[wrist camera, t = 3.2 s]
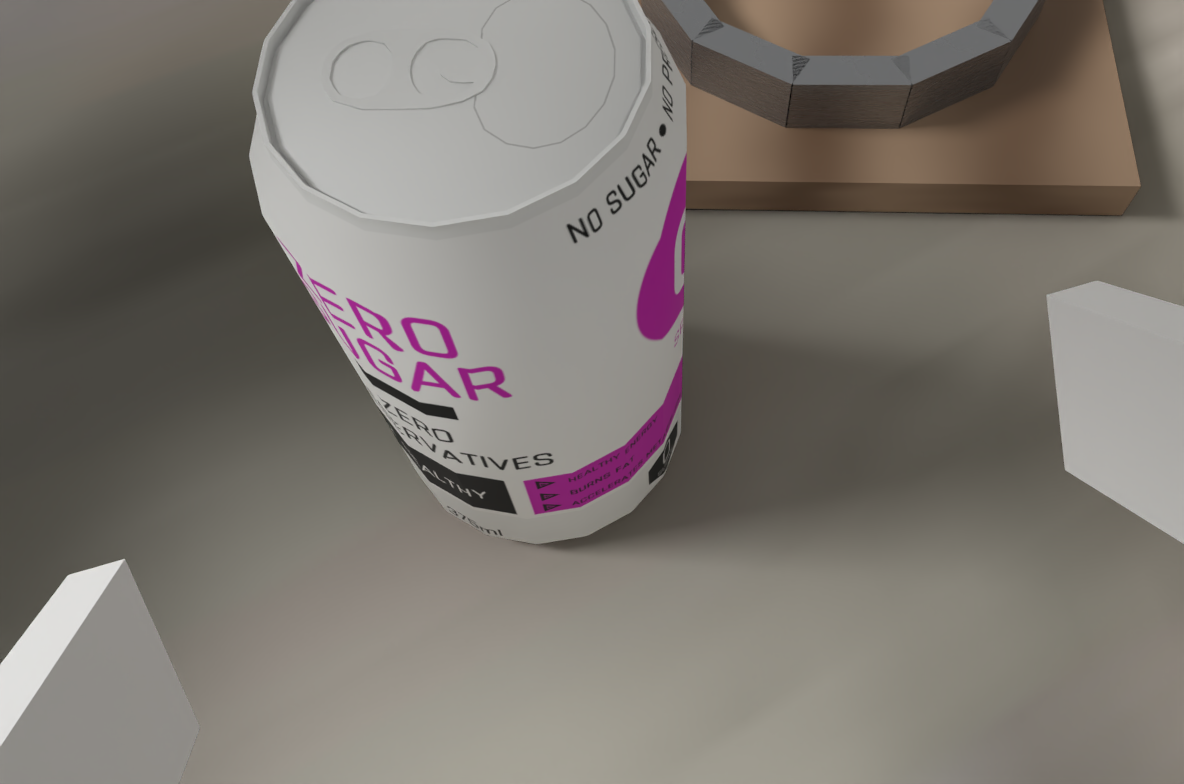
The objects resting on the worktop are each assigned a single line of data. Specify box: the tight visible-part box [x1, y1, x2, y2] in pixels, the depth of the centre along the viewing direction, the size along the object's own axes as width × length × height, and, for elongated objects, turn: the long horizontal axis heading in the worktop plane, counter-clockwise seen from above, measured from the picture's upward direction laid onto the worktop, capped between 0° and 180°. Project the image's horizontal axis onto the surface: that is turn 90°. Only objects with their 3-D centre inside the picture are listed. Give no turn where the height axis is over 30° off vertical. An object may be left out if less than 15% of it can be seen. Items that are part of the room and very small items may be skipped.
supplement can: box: [249, 0, 687, 544], centre depth 24 cm, size 8×8×15 cm
